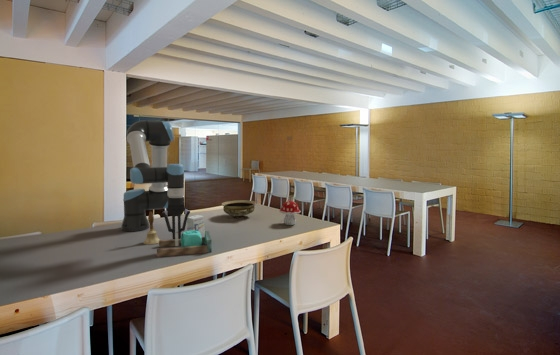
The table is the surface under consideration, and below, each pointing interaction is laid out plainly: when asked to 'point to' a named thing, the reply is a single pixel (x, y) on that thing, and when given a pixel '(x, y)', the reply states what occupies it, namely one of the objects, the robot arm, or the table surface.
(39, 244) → the table surface
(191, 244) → the decorative dice
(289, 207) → the decorative mushroom
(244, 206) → the ceramic bowl
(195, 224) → the ink box
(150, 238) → the hand bell
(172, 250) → the channel
